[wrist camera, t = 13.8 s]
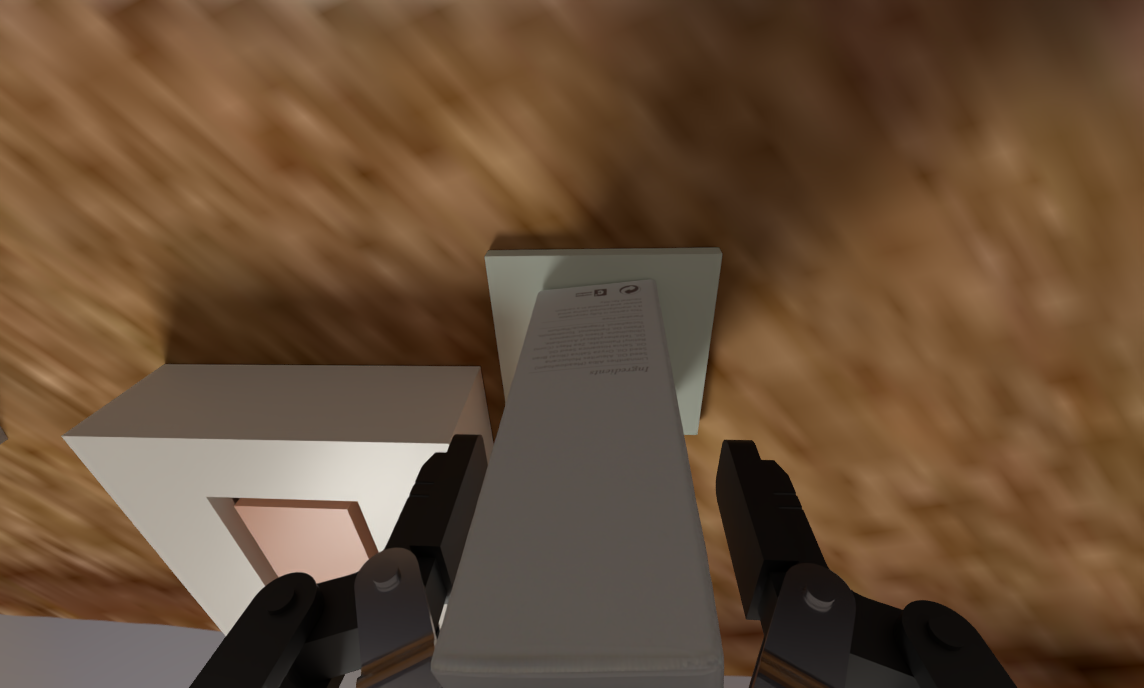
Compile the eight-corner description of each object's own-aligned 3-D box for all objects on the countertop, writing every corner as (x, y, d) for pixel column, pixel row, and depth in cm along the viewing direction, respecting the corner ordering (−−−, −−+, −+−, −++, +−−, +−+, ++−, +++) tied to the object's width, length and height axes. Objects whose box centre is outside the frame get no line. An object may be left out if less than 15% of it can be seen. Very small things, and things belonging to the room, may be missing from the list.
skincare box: (534, 287, 16) (416, 666, 6) (656, 274, 16) (738, 667, 6) (561, 418, 20) (510, 808, 10) (664, 411, 19) (726, 819, 9)
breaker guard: (480, 366, 19) (448, 443, 15) (514, 568, 27) (499, 654, 23) (163, 364, 20) (61, 436, 16) (281, 559, 28) (229, 640, 24)
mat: (718, 247, 16) (722, 253, 15) (695, 425, 20) (697, 434, 20) (488, 250, 17) (484, 256, 16) (511, 422, 21) (509, 431, 20)
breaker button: (386, 440, 21) (347, 509, 18) (417, 532, 25) (389, 605, 21) (290, 438, 21) (233, 505, 18) (333, 530, 25) (293, 600, 22)
